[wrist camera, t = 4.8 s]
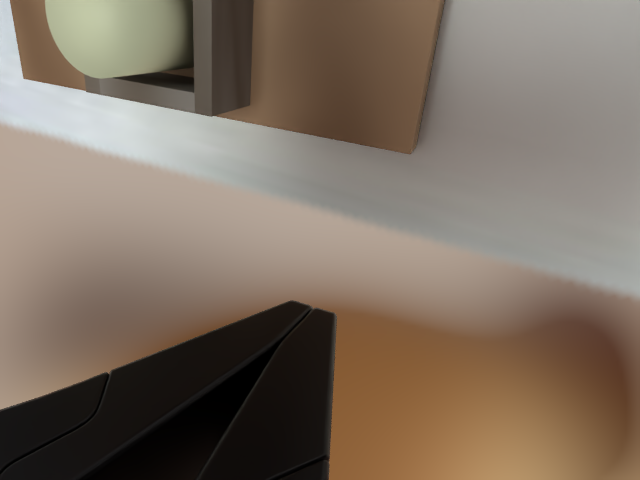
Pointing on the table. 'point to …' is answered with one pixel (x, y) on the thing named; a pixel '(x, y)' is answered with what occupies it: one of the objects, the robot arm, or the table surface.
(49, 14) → the sage button
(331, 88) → the button panel
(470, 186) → the table surface
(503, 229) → the table surface
